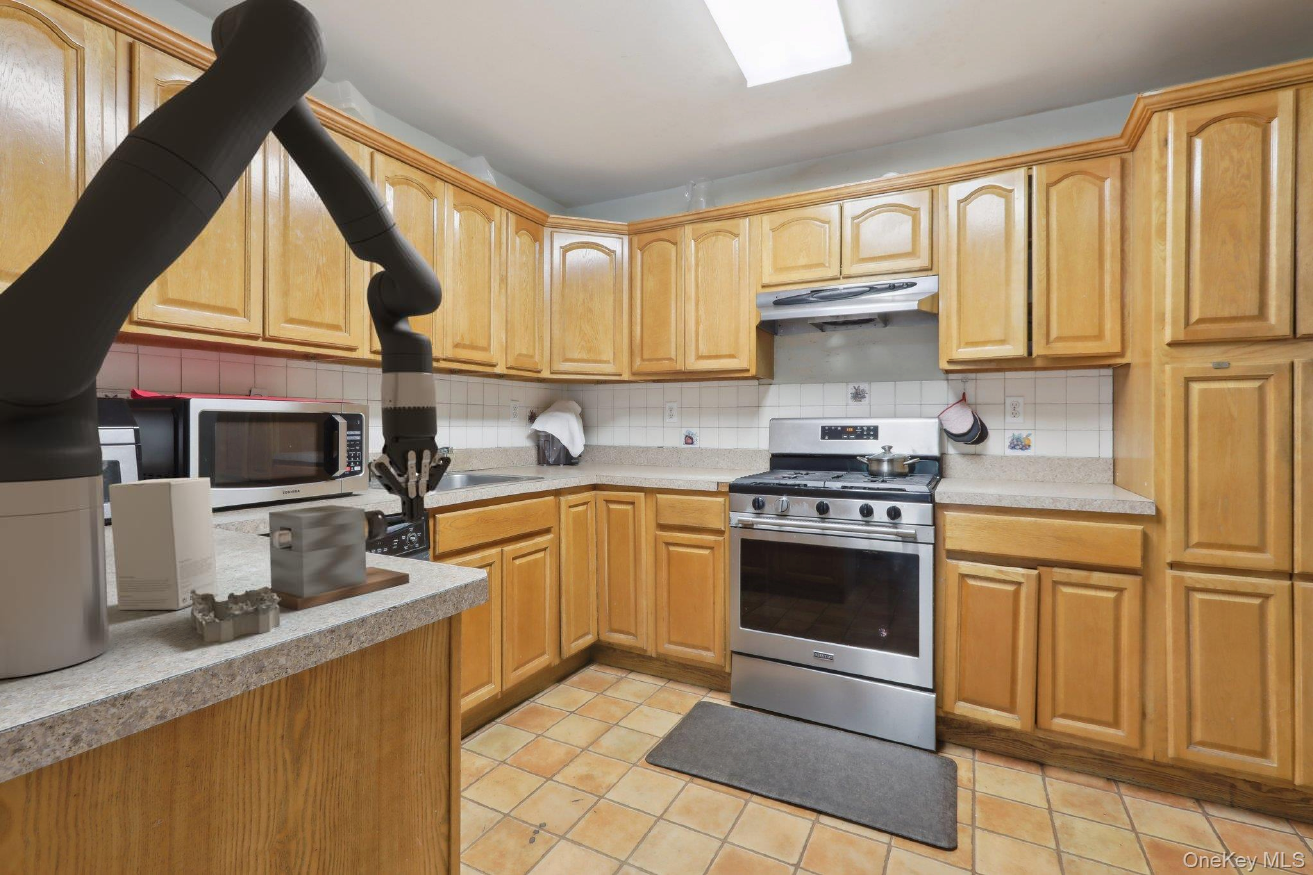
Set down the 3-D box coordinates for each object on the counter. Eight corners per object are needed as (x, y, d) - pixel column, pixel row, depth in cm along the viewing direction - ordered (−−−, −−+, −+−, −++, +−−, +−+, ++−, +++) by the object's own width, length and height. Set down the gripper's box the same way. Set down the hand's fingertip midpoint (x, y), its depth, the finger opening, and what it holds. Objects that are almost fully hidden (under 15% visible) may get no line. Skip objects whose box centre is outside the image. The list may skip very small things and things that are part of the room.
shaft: (286, 559, 75) (285, 523, 75) (268, 555, 77) (267, 520, 77) (389, 541, 86) (388, 509, 86) (370, 538, 89) (369, 507, 88)
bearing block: (297, 610, 74) (295, 518, 73) (261, 599, 79) (258, 513, 78) (409, 582, 86) (407, 503, 86) (371, 574, 91) (369, 499, 91)
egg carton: (188, 625, 70) (186, 589, 70) (266, 610, 75) (264, 577, 75) (199, 649, 62) (198, 608, 62) (286, 631, 67) (284, 593, 67)
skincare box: (219, 597, 80) (215, 476, 80) (175, 612, 74) (170, 481, 73) (160, 596, 81) (156, 477, 81) (111, 611, 75) (106, 482, 74)
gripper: (382, 404, 84) (388, 531, 84) (462, 404, 95) (466, 517, 95) (351, 405, 88) (356, 527, 88) (431, 406, 99) (435, 514, 99)
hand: (413, 522), depth 92 cm, fingers closed
